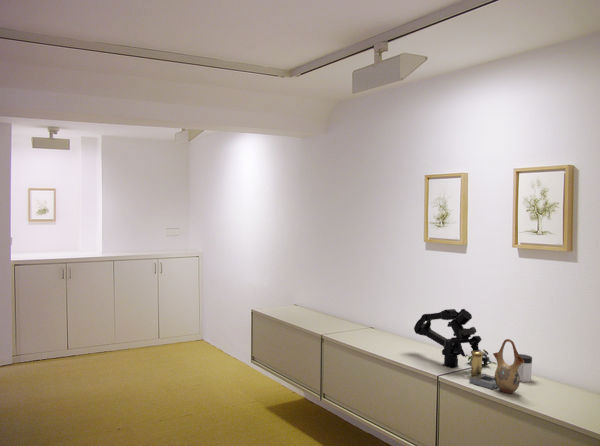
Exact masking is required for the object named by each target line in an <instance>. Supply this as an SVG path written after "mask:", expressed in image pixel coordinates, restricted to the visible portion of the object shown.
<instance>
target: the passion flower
mask: <svg viewBox="0 0 600 446" xmlns="http://www.w3.org/2000/svg"><path fill="white" fill-rule="evenodd" d="M479 351H481V352H483V355H482V364H483V366H489V364H491V363H492V361H491V359H490V356H488V355H489V352H488V351H487V350H486V349H482V350H481V348H480V349H479ZM467 357H468V358H467ZM464 358H467V361H469V363H472V355H471V356H470V355H468V354H467V353H466V354H465V357H464Z"/></svg>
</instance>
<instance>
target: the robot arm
mask: <svg viewBox="0 0 600 446" xmlns="http://www.w3.org/2000/svg"><path fill="white" fill-rule="evenodd" d="M472 318H473V316H472V314H471V313H470V312H469V311H468V310H466V309H465V308H461V309H460V311H459V312H458V311H457V310H456V309H455V308H450V309H443V310H441V311H439V312H434V313H423V314H422V315H421V317H420V318H419V319H418V320H416V323H415V325H414V327H413V331H414V333H415V334H416V335H420V336H424V337H427V338H428V339H430V340H432V341H434V342H435V343H437V344H438V345H439V346H440V345H441V347H443V349H442V350H441V354H442V356H444V358H443V359H444V360H443V364H442V367H446V368H450V369H454V368H458V367H460V365H459V359H458V358H459V357H458V356H461V357H463V358H466V357H465V356H466V354H465V352H464V349H463V347H462V344H469V345H470V348H471V350H472V351H473V350H476V351H479V344H480V342H481V341H482V338H481V336H479V335H476V334H475V333H477V329H476V327H475V326H471V327H469V328H464V326H465V325H466V324H467V323H469V322H470V321H471V319H472ZM434 320H435V321H436V320H445V321H448V323H447V325H446V326H447V327H448V328H449V327H450V328H451V329H452V331H453V337H450V338H446V337H444V336H443V335H441V334H440V333H438V332H436V331H435V330H432V328H431V326H432V321H434Z"/></svg>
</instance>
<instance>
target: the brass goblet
mask: <svg viewBox="0 0 600 446" xmlns="http://www.w3.org/2000/svg"><path fill="white" fill-rule="evenodd" d="M481 351H482V350H481ZM481 351H476V350H473V349H472V350H470V354H471V356H472V362H471V365H470V366H471V367H470V368H471V369H470V378H471V377H474V376H477V375H480V374H482V367H483V361H482V355H483V352H484V351H482V352H481Z"/></svg>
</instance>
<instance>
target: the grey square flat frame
mask: <svg viewBox="0 0 600 446" xmlns="http://www.w3.org/2000/svg"><path fill="white" fill-rule="evenodd" d="M470 383H471V384H472V385H475V386H479V387H483V388H487V389H489V390H495V389H497V388H498V386H497V385H496V382H495V376H493V375H489V374H486V373H481V374H480V375H477V376H474V377H471V376H470V377H469V384H470ZM498 389H499V388H498Z"/></svg>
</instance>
